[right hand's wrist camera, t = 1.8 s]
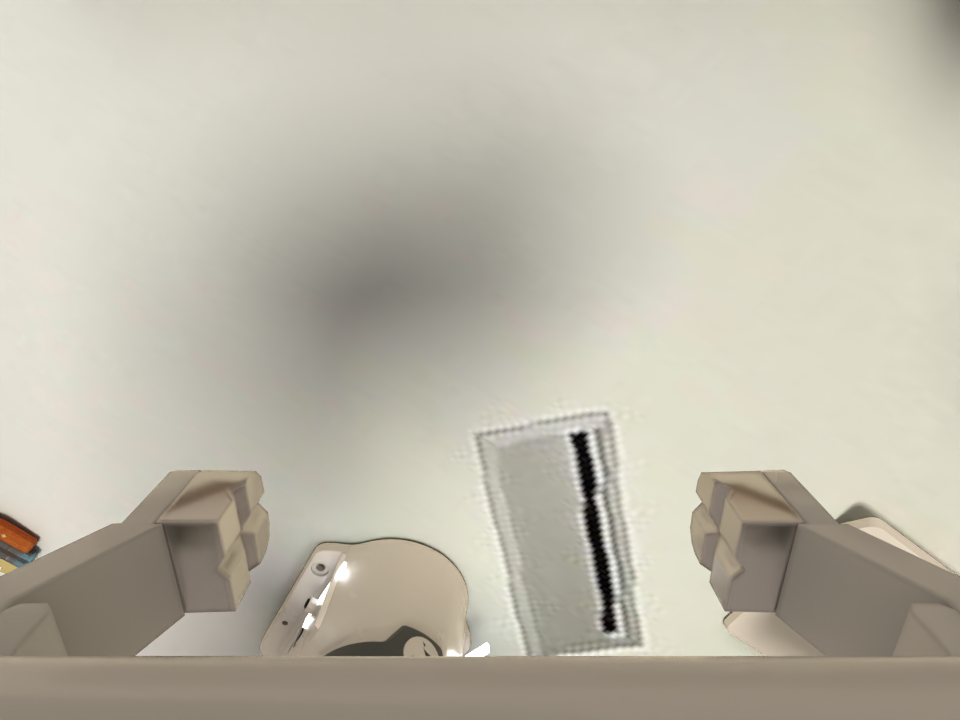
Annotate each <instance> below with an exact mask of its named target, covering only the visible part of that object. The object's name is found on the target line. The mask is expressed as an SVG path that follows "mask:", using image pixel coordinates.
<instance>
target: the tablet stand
mask: <svg viewBox="0 0 960 720" xmlns="http://www.w3.org/2000/svg"><path fill="white" fill-rule="evenodd" d="M841 524H849V525H851V526H853V527H856V528H858V529H860V530H862V531H864V532H866V533H868V534H870V535H872V536H875V537H877V538H879V539H881V540H883V541H885V542H887V543H889V544H892V545H894V546H896V547H898V548H900V549H902V550H904V551H906V552H909V553H911V554H913V555H915V556H917V557H919V558H921V559H923V560H926V561H928V562H930V563H932V564H934V565H936V566H938V567H940V568H943V569H945V570H947V571H949V572H951V571H950V570H948V569H947V568H946V567H944V566H943V565H942V564H940V563H939V562H938V561H936V560H935V559H934V558H932V557H931V556H930V555H928V554H927V553H926V552H924V551H923V550H922V549H920V548H919V547H918V546H916V545H915V544H914V543H912V542H911V541H910V540H908V539H907V538H905V537H904V536H903V535H901V534H900V533H899V532H897V531H896V530H895V529H893V528H892V527H891V526H889V525H888V524H887V523H885V522H884V521H883V520H881V519H879V518H875V517H868V518H863V519H859V520H854V521H850V522H846V523H841ZM951 573H952V572H951ZM953 574H954V573H953ZM724 624H725V626H726V628H727V630H728V632H729V633H730V634H732V635H734V636H735V637H737V638H738V639H740V640H742V641H743V642H745V643H746V644H748V645H750V646H751V647H753V648H754V649H756V650H758V651H759V652H761V653H762V654H764V655H766V656H825V655H824V654H823V653H821V652H820V651H819V650H818V649H817V648H815V647H814V646H813V645H812V644H810V643H809V642H808V641H807V640H805V639H804V638H803V637H802V636H800V635H799V634H798V633H797V632H796V631H794V630H793V629H792V628H791V627H789V626H788V625H787V624H786V623H784V622H783V621H782V620H781V619H780V618H778V617H777V616H776V615H775V613H769V612H732V613H731V614H730V615H729V616H728V617H727V618H726V619H725V620H724Z"/></svg>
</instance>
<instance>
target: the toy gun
mask: <svg viewBox="0 0 960 720" xmlns="http://www.w3.org/2000/svg"><path fill="white" fill-rule="evenodd" d="M37 541H38V539H36V538H35V537H33V536H31V535H30V534H28V533H27V532H25V531H23V530H21V529H20V528H18V527H16V526H15V525H13V524H11V523H10V522H8V521H6V520H4V519H2V518H0V567H2V569H1V570H0V572H2V573H5V574H7V573H9V572H11V571H13V570H15V569H17V568H19V567H21V566H24V565H26V564H28V563H30V562H32V560H33V559H34V558H35V557H36V555H37V554H38V553H36V552H35V551H36V550H34V549H33V547H34V545H35V544H36V543H37Z"/></svg>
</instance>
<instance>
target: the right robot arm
mask: <svg viewBox="0 0 960 720" xmlns="http://www.w3.org/2000/svg"><path fill="white" fill-rule="evenodd" d="M263 493H264V488H263V483H262V479H261V476H260V475H259V474H258V473H257V472H256V471H209V470H204V471H201V470H177V471H173V472H170V473H169V474H168V475H167V476H166V477H165V478H164V479H163V480H162V481H161V482H160V483H159V484H158V485H157V486H156V488H155V489H154V490H153V491H152V492H151V493H150V494H149V495H148V496H147V497H146V498H145V499H144V500H143V501H142V502H141V503H140V505H139V506H138V507H137V508H136V509H135V510H134V511H133V512H132V513H131V514H130V515H129V516H128V517H127V518H126V519H125V521H124V522H123V523H122V524H111V525H109V526H107V527H104V528H102V529H100V530H98V531H96V532H94V533H92V534H90V535H87V536H85V537H83V538H81V539H79V540H77V541H75V542H73V543H70V544H68V545H66V546H64V547H62V548H60V549H58V550H56V551H53V552H51V553H49V554H47V555H45V556H43V557H41V558H39V559H36V560H34V561H32V562H30V563H28V564H26V565H24V566H21V567H19V568H17V569H15V570H13V571H11V572H9V573H7V574H4V575H2V576H0V720H960V577H959V576H957V575H955V574H953V573H951V572H949V571H947V570H945V569H943V568H940V567H938V566H936V565H934V564H932V563H930V562H928V561H926V560H923V559H921V558H919V557H917V556H915V555H913V554H911V553H909V552H906V551H904V550H902V549H900V548H898V547H896V546H894V545H892V544H889V543H887V542H885V541H883V540H881V539H879V538H877V537H875V536H872V535H870V534H868V533H866V532H864V531H862V530H860V529H858V528H856V527H853V526H851V525H849V524H838V523H837V522H836V520H835V519H834V518H833V517H832V516H831V515H830V514H829V513H828V512H827V511H826V510H825V509H824V508H823V507H822V506H821V505H820V503H819V502H818V501H817V500H816V499H815V498H814V497H813V496H812V495H811V494H810V493H809V492H808V491H807V490H806V489H805V487H804V486H803V485H802V484H801V483H800V482H799V481H798V480H797V479H796V478H795V477H794V476H793V475H792V474H791V473H790V472H788V471H785V470H766V471H739V472H702V473H701V475H700V477H699V479H698V482H697V488H696V493H697V495H698V496H699V498H700V500H701V501H702V503H701V504H700V505H699V506H698V507H697V508H696V509H695V510H694V511H693V512H692V519H691V526H690V529H691V541H692V545H693V549H694V552H695V555H696V557H697V559H698V561H699V563H700V564H701V565H703V566H704V567H705V568H707V569H708V570H710V571H711V576H710V584H711V586H712V588H713V590H714V592H715V594H716V596H717V597H718V599H719V601H720V603H721V605H722V607H723V609H724V611H733V612H769V613H775V615H776V616H777V617H778V618H780V619H781V620H782V621H783V622H784V623H786V624H787V625H788V626H789V627H791V628H792V629H793V630H794V631H796V632H797V633H798V634H799V635H800V636H802V637H803V638H804V639H805V640H807V641H808V642H809V643H810V644H812V645H813V646H814V647H815V648H817V649H818V650H819V651H820V652H821V653H823V654H824V655H825V656H485V655H487V654H488V653H489V644H488V643H485V644H484V645H482V646H480V647H479V648H477V649H476V650H474V651H472V652H471V653H469V654H468V655H466V656H463V655H464V654H466V653H467V652H468V651H469V649H470V644H471V635H470V631H469V628H468V626H467V623H466V613H467V607H468V592H467V587H466V584H465V582H464V579H463V577H462V575H461V574H460V572H459V571H458V569H457V568H456V567H455V566H454V565H453V564H452V563H451V562H450V561H449V560H448V559H447V558H446V557H444V556H443V555H442V554H440V553H439V552H437V551H435V550H433V549H431V548H429V547H427V546H425V545H422V544H419V543H416V542H412V541H407V540H399V539H382V540H375V541H370V542H365V543H361V544H354V545H348V544H340V543H322V544H320V545H318V546H317V547H316V548H315V550H314V551H313V553H312V555H311V557H310V558H309V560H308V562H307V563H306V565H305V567H304V569H303V570H302V572H301V574H300V575H299V577H298V579H297V580H296V582H295V584H294V586H293V587H292V589H291V591H290V592H289V594H288V596H287V597H286V599H285V601H284V603H283V604H282V606H281V608H280V609H279V611H278V613H277V614H276V616H275V618H274V620H273V621H272V623H271V625H270V626H269V628H268V630H267V632H266V633H265V635H264V637H263V639H262V641H261V645H260V652H261V654H262V656H135V655H136V654H137V653H139V652H140V651H141V650H142V649H144V648H145V647H146V646H147V645H149V644H150V643H151V642H152V641H154V640H155V639H156V638H157V637H158V636H160V635H161V634H162V633H163V632H165V631H166V630H167V629H168V628H170V627H171V626H172V625H173V624H175V623H176V622H177V621H178V620H180V619H181V618H182V617H183V616H184V615H185V614H184V613H191V612H226V611H236V609H237V607H238V605H239V603H240V601H241V599H242V597H243V596H244V594H245V592H246V590H247V588H248V586H249V584H250V576H249V571H250V570H252V569H253V568H255V567H256V566H257V565H259V564H260V563H261V561H262V559H263V557H264V555H265V552H266V549H267V544H268V540H269V518H268V512H267V511H266V510H265V509H264V508H263V507H262V506H261V505H260V504H259V503H258V501H259V500H260V498H261V496H262V495H263ZM319 564H323V565H324V566H321V565H319Z"/></svg>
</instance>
